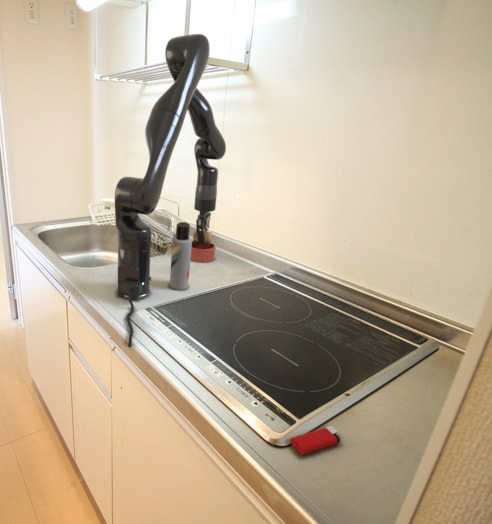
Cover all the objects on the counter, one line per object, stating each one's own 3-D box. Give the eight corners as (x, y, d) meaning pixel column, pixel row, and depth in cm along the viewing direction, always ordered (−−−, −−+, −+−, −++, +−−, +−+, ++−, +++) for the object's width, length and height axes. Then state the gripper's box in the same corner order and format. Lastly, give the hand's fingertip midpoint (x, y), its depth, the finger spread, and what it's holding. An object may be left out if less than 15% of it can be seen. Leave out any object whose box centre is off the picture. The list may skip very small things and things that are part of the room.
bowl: (211, 264, 131) (212, 251, 129) (182, 259, 134) (183, 246, 132) (216, 255, 140) (218, 242, 138) (190, 251, 143) (191, 239, 142)
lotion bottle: (187, 283, 114) (193, 221, 107) (188, 290, 109) (193, 226, 102) (169, 282, 114) (173, 220, 107) (169, 289, 109) (173, 225, 102)
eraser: (210, 242, 136) (211, 232, 134) (208, 245, 132) (209, 235, 131) (195, 240, 138) (196, 230, 136) (192, 243, 134) (193, 233, 133)
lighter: (290, 436, 57) (330, 423, 59) (289, 442, 57) (328, 429, 60) (304, 450, 54) (344, 437, 57) (302, 456, 55) (342, 443, 57)
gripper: (199, 192, 136) (196, 236, 142) (190, 199, 124) (187, 246, 130) (219, 194, 134) (215, 238, 140) (212, 201, 121) (207, 249, 128)
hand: (201, 242), depth 135 cm, fingers closed on eraser, 4 cm apart
